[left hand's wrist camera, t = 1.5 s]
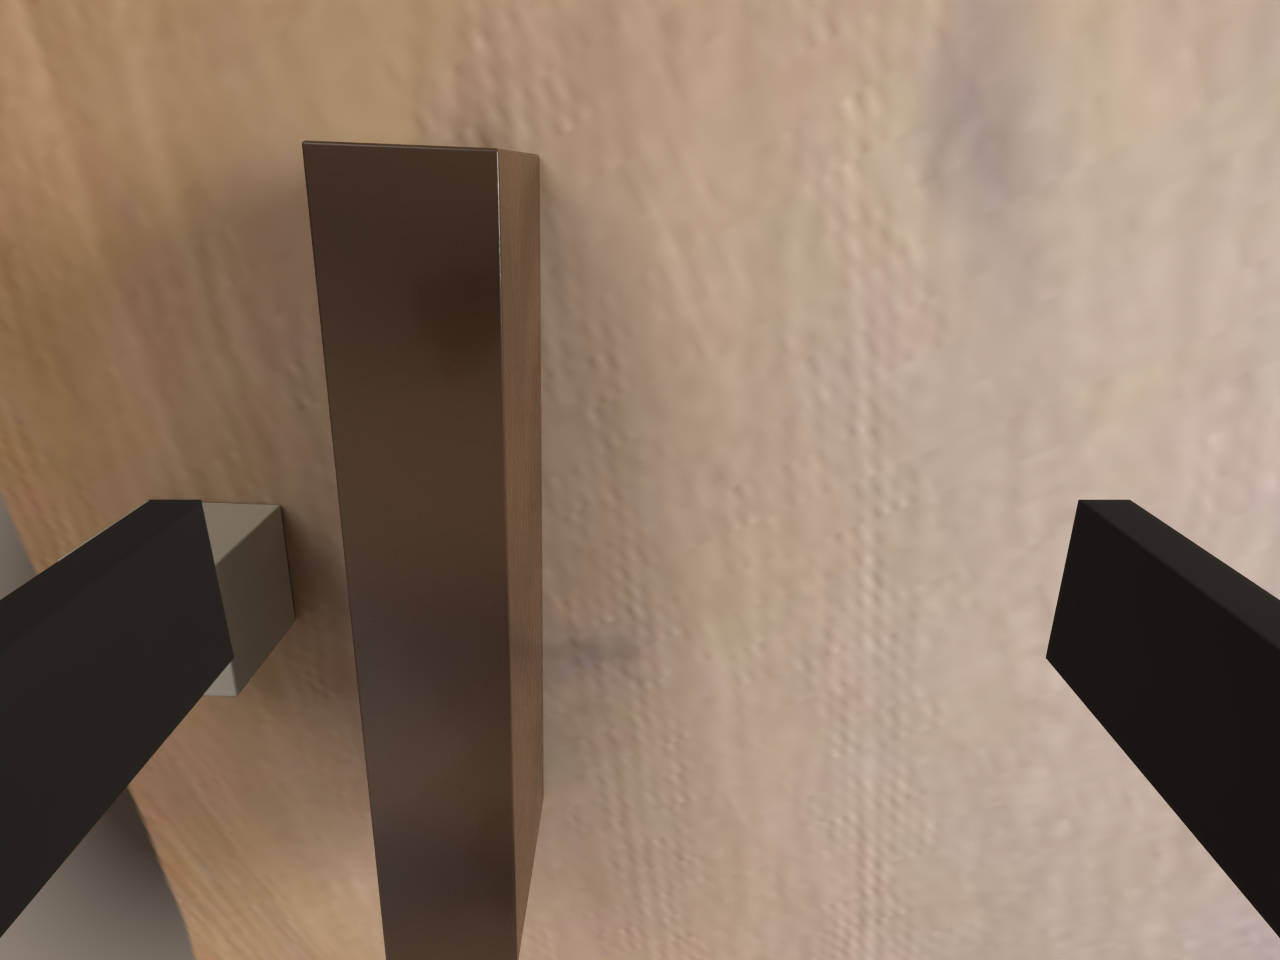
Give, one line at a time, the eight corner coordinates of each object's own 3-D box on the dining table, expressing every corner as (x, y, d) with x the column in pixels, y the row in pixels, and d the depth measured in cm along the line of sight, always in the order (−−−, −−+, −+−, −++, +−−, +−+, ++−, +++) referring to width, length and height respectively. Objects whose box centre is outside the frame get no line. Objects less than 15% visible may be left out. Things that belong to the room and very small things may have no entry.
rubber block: (146, 499, 30) (55, 559, 26) (280, 504, 30) (215, 565, 26) (169, 616, 32) (88, 693, 27) (296, 620, 32) (237, 697, 27)
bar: (398, 148, 26) (300, 140, 18) (539, 154, 26) (498, 148, 18) (439, 795, 35) (385, 964, 28) (543, 798, 35) (517, 967, 28)
